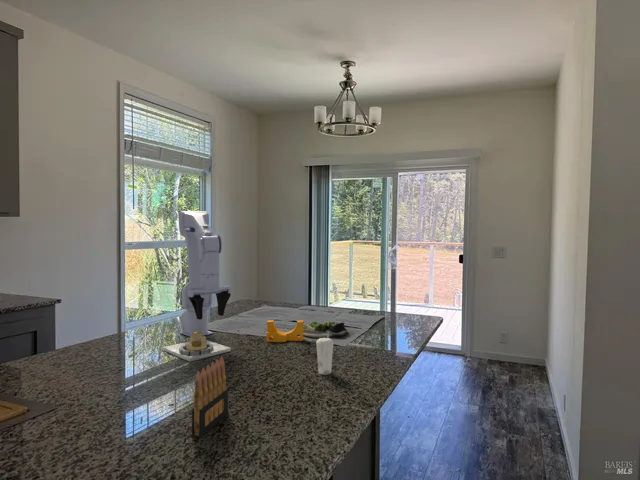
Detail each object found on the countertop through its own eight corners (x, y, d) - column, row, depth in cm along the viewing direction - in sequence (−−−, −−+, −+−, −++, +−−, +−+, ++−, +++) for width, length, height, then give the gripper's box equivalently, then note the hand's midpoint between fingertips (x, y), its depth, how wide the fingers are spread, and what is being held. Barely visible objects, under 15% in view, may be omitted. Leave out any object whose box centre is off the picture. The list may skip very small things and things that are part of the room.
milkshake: (336, 370, 115) (336, 332, 115) (330, 376, 110) (330, 337, 110) (320, 368, 117) (320, 331, 117) (313, 374, 112) (313, 336, 112)
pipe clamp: (266, 342, 144) (266, 323, 143) (268, 338, 148) (268, 320, 148) (302, 342, 143) (302, 323, 143) (303, 339, 148) (303, 320, 147)
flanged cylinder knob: (183, 349, 131) (183, 331, 131) (203, 346, 134) (203, 328, 134) (189, 354, 126) (188, 335, 126) (209, 351, 129) (209, 333, 129)
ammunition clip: (220, 412, 89) (219, 354, 89) (228, 413, 89) (228, 355, 89) (191, 436, 79) (190, 371, 79) (200, 437, 79) (199, 372, 78)
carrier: (162, 350, 134) (162, 337, 133) (202, 341, 144) (202, 329, 144) (189, 361, 123) (189, 347, 122) (230, 351, 133) (230, 338, 133)
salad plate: (295, 341, 145) (295, 328, 145) (290, 329, 163) (290, 316, 163) (351, 339, 148) (351, 325, 148) (340, 326, 166) (340, 314, 166)
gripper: (195, 277, 127) (195, 322, 128) (236, 273, 138) (237, 315, 138) (183, 275, 132) (184, 319, 133) (224, 271, 143) (224, 312, 143)
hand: (210, 317), depth 136 cm, fingers open, 7 cm apart
